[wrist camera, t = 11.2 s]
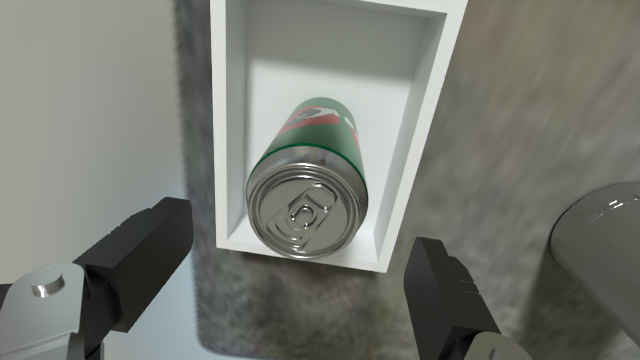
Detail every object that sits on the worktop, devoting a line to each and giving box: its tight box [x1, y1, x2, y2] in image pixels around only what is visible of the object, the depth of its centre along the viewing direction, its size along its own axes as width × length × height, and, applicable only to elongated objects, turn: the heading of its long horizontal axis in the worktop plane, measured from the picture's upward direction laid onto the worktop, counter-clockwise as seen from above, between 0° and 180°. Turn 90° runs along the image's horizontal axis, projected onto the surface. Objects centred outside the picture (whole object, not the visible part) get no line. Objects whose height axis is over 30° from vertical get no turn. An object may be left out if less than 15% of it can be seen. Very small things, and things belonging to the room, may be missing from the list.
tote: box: [210, 0, 468, 273], centre depth 21 cm, size 13×18×4 cm
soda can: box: [246, 97, 369, 261], centre depth 17 cm, size 5×5×12 cm
